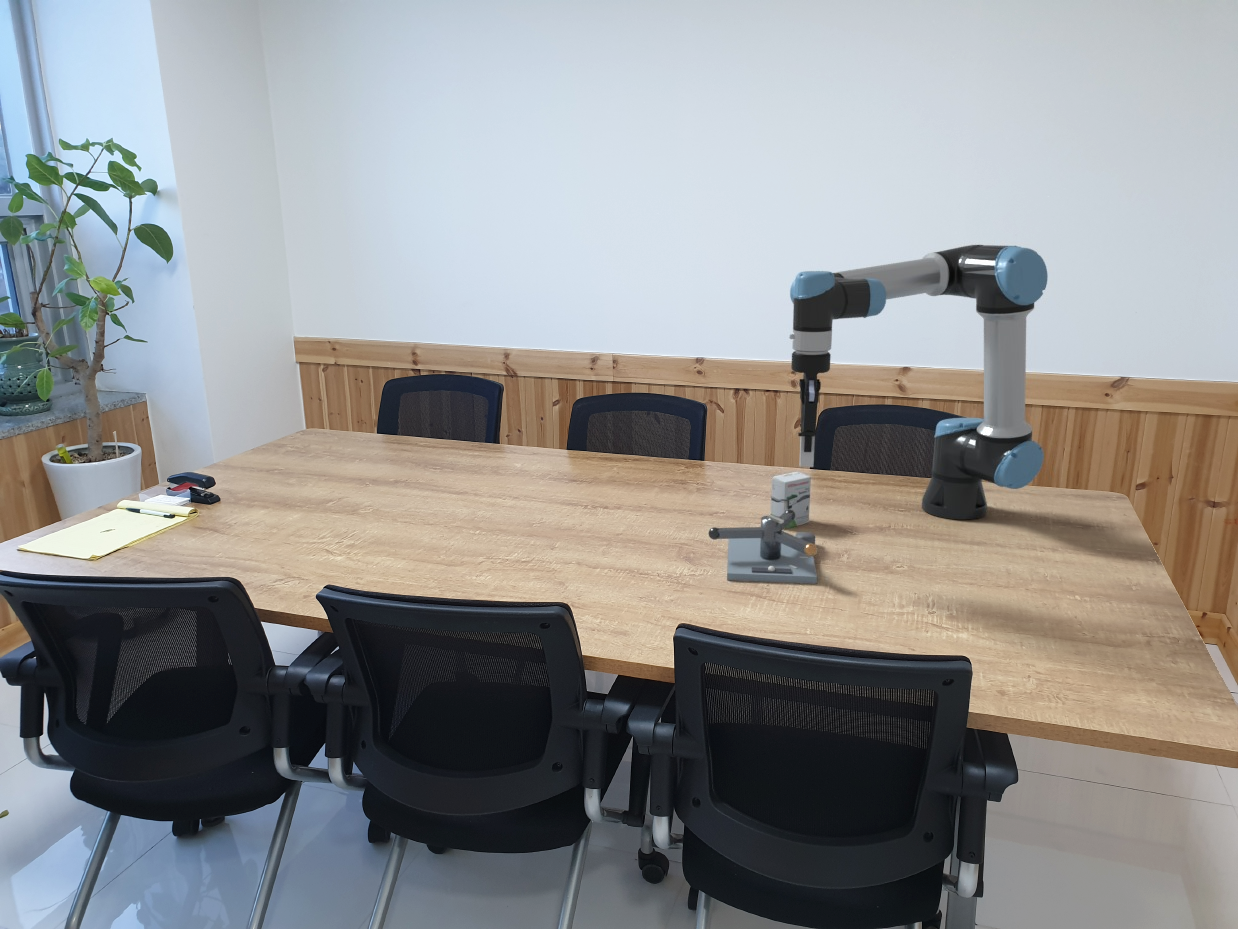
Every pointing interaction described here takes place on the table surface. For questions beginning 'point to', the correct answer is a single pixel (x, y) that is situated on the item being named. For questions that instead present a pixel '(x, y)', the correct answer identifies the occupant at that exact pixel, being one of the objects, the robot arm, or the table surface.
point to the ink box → (791, 496)
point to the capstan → (768, 536)
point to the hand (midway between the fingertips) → (806, 465)
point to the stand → (770, 562)
